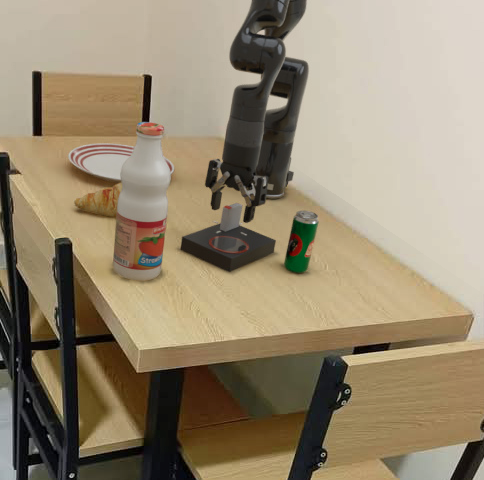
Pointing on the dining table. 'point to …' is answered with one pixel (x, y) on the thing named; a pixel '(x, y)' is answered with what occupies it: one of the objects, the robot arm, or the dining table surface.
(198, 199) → the dining table surface
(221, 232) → the cooker
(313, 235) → the soda can
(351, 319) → the dining table surface
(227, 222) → the cooker dial
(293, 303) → the dining table surface
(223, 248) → the hot plate ring
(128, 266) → the strawberry milk bottle
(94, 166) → the dinner plate
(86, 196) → the croissant
